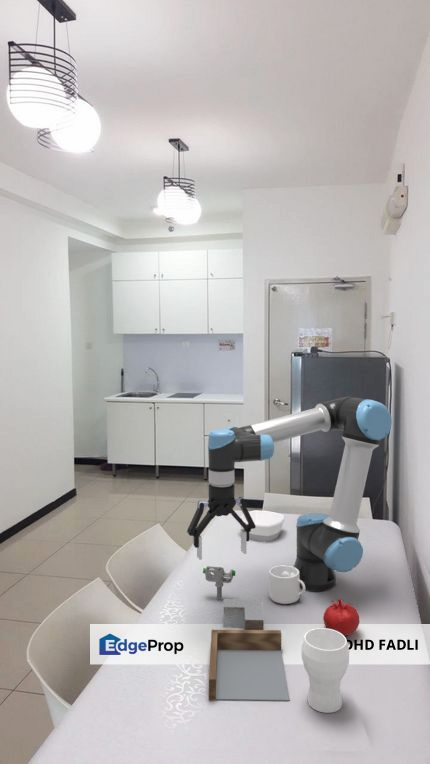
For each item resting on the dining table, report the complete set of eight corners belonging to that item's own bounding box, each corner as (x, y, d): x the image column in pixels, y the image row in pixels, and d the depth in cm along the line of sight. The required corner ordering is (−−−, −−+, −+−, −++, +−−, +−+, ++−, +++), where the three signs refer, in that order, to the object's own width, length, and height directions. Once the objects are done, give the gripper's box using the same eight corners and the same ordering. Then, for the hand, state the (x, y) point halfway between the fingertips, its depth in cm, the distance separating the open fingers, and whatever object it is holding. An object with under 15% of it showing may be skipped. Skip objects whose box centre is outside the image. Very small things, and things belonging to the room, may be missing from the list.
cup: (296, 688, 130) (296, 627, 129) (340, 686, 131) (340, 625, 130) (307, 719, 119) (308, 653, 118) (355, 716, 120) (356, 650, 119)
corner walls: (280, 648, 147) (280, 630, 146) (289, 701, 125) (289, 680, 125) (211, 647, 147) (211, 629, 147) (208, 700, 126) (208, 679, 125)
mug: (312, 596, 176) (311, 569, 175) (299, 610, 167) (299, 581, 166) (278, 588, 182) (277, 562, 181) (264, 601, 173) (263, 573, 172)
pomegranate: (364, 638, 152) (365, 605, 151) (330, 641, 150) (331, 608, 149) (350, 620, 161) (350, 589, 161) (318, 623, 160) (318, 592, 159)
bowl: (271, 550, 215) (272, 527, 214) (232, 541, 224) (232, 519, 223) (290, 536, 230) (290, 514, 229) (253, 529, 239) (253, 508, 238)
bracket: (260, 618, 162) (260, 599, 162) (263, 641, 150) (263, 620, 150) (223, 618, 163) (223, 598, 162) (223, 640, 151) (223, 619, 150)
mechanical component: (234, 602, 172) (234, 572, 171) (202, 599, 174) (202, 569, 173) (235, 598, 175) (235, 568, 174) (204, 595, 177) (204, 565, 176)
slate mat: (281, 651, 145) (281, 650, 145) (289, 701, 125) (289, 699, 125) (217, 650, 146) (217, 649, 146) (215, 700, 126) (215, 698, 126)
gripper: (256, 477, 165) (256, 545, 167) (176, 483, 158) (177, 555, 159) (266, 483, 158) (266, 554, 160) (182, 490, 151) (183, 565, 152)
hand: (221, 555), depth 160 cm, fingers open, 13 cm apart
